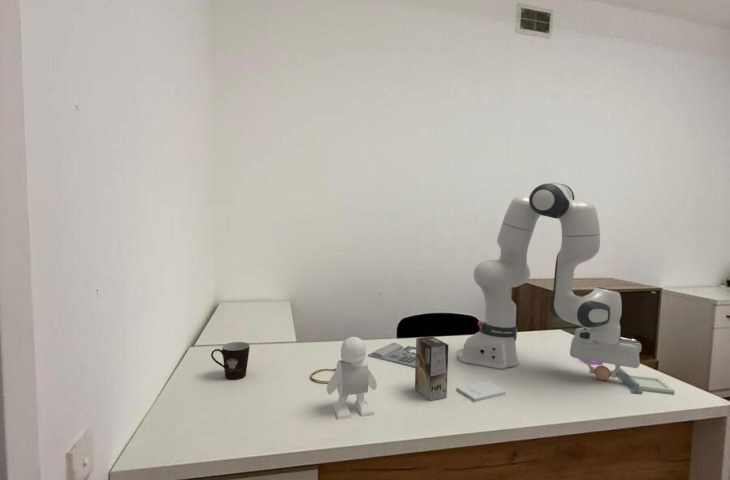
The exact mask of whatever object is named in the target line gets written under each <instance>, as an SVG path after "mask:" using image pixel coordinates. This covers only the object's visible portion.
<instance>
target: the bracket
mask: <svg viewBox="0 0 730 480" xmlns="http://www.w3.org/2000/svg"><path fill="white" fill-rule="evenodd" d="M577 359H579V358H577ZM579 360H580V361H582V362H583V363H584V364H586V365H587V363H586V360H585V359H579ZM590 364H591V366H603V363H602V362H597V361H591V363H590Z"/></svg>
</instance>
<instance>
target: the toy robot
mask: <svg viewBox="0 0 730 480" xmlns="http://www.w3.org/2000/svg"><path fill="white" fill-rule="evenodd" d="M366 354H367V348H366V344H365V343H364V341H363V339H361V338H360V337H357V336H351V337H350V336H349V337H347V338H346V339H345V340H343V342H342V344H341V348H340V359H341V360H338V361H337V362H336V368H335V369H336V371H334V372H333V374H332V376H331V378H330V379H329V380H328V381H329V382H327V383H328V384H326V385H327V386H326V392H327V394H328V395H329V396H330V395H332V394H333V393H334V392H335V390H336V389H337V392H338V402H337V403H335V404H333V411H334V413H335V415H336V419H337V420H343V419H344V420H345V419H351V418H352V415H351V414H352V413H351V410H350V409H349V407H348V404H347V399H348V397H349V395H350V396H351V395H356V400H355V401H354V406H355V408H356V409H357V411H358V414H360V416H361V417H367V416H374V415H375V410H374V409H373V408H372V407H371V406H370V404H369V403H368V401H367V400H365V394H366V393H368V391H369V388H370V389H372V390H373V391H375V390H376V389H377V381H376V379H375V377H374V375H373V373H372V372H371V371H370V369H369V368H368V367H369V366H368V362H367V360H366V357H367V355H366Z"/></svg>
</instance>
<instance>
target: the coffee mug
mask: <svg viewBox="0 0 730 480" xmlns="http://www.w3.org/2000/svg"><path fill="white" fill-rule="evenodd" d="M250 346H251V344H250V343H249V342H244V341H234V342H233V341H231V342H227V343H225V344H223V345H222V346H221V349H220V348H215V349H214V350H212V351H211V354H210V356H211V359H212V360H213V361H214V362H215V363H216V364H217V365H219V366H220V367H222V368H223V369H224V377H225V379H226V380H230V381H238V380H241V379H244V378H245V377H246V376H247V369H248V361H249V355H250ZM215 352H219V353H220V354H221V355H222V359H223V364H222V363H221V362H219V361H218V360H217V359H216V358H215V357H214V353H215Z"/></svg>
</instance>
